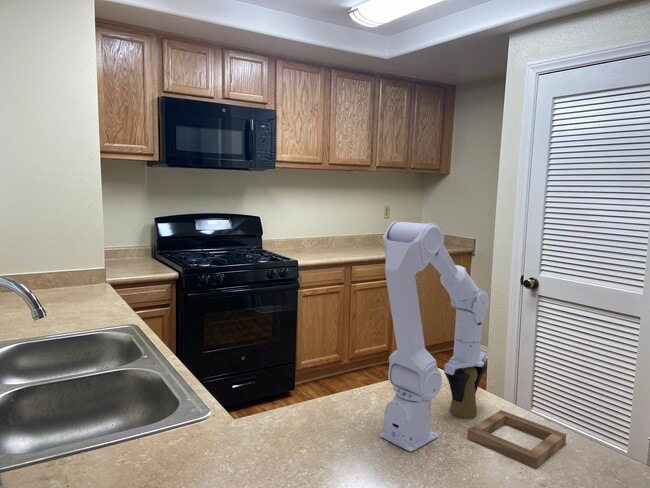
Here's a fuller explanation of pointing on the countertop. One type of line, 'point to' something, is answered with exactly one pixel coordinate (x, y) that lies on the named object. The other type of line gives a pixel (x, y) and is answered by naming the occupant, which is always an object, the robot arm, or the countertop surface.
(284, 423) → the countertop surface
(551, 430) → the socket block
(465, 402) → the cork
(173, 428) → the countertop surface
